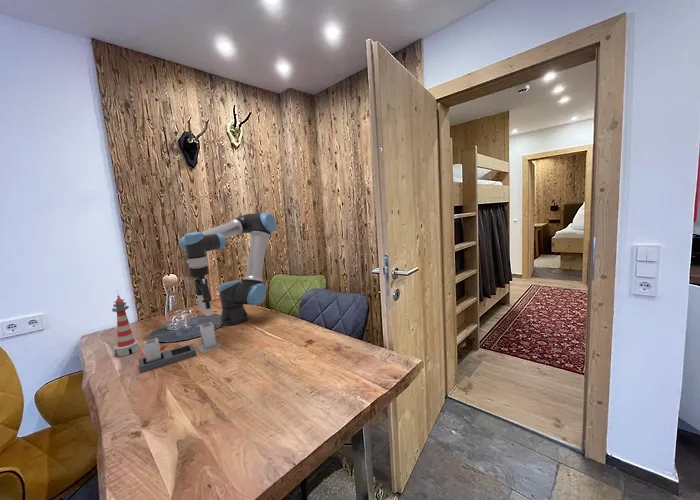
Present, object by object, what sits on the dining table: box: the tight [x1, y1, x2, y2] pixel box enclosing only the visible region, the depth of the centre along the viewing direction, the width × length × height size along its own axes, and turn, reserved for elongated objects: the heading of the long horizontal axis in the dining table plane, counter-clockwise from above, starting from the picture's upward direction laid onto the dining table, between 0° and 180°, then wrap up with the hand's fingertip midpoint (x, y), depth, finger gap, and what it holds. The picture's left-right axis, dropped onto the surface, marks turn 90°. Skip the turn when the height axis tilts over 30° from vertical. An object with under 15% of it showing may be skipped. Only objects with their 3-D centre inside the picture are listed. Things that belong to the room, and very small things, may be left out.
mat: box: [196, 339, 223, 353], centre depth 136 cm, size 9×9×1 cm
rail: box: [138, 343, 197, 374], centre depth 124 cm, size 20×9×3 cm, turn 128°
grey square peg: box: [199, 322, 217, 349], centre depth 135 cm, size 5×5×10 cm
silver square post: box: [143, 337, 162, 364], centre depth 120 cm, size 5×5×10 cm
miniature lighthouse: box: [111, 289, 139, 357], centre depth 134 cm, size 9×9×30 cm
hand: (205, 311), depth 134 cm, fingers open, 13 cm apart
